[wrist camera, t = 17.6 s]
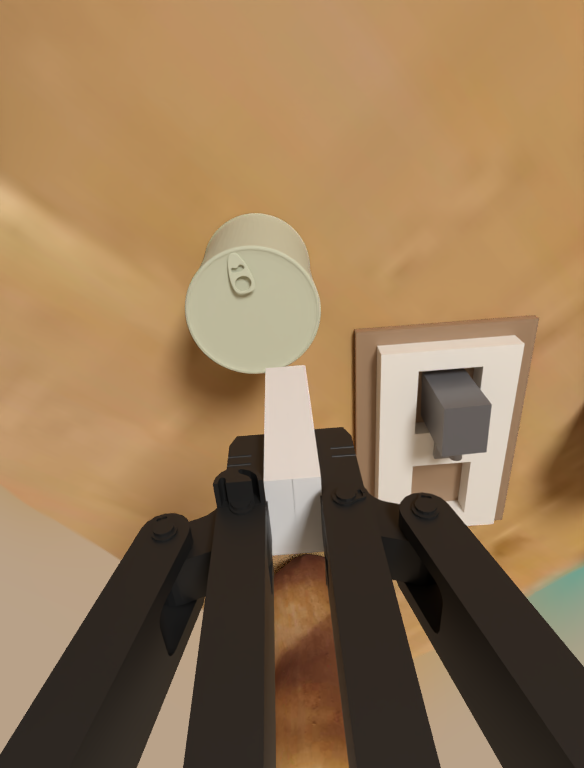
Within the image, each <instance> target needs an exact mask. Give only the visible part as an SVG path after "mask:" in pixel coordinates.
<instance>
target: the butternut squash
mask: <svg viewBox="0 0 584 768" xmlns="http://www.w3.org/2000/svg"><path fill="white" fill-rule="evenodd" d="M274 632H275V718H276V768H349V764H348V755H347V747H346V738H345V730H344V721H343V713H342V705H341V696H340V688H339V679H338V671H337V662H336V654H335V645H334V637H333V629H332V620H331V612H330V603H329V595H328V586H327V585H326V573H325V557H322V556H318V555H312V554H305V555H302V556H299V557H296V558H294V559H293V560H291V561H290V562H289V563H287V564H286V565H285V566H284V567H283V568H281V569H280V570H279V571H278V572H277V573H276V574H275V575H274Z"/></svg>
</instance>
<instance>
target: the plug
mask: <svg viewBox="0 0 584 768" xmlns="http://www.w3.org/2000/svg"><path fill="white" fill-rule="evenodd" d="M491 408H492V404H491V403H490V401H489V400H488V399H487V398H486V396H485V395H484V394H483V392H482V391H481V390H480V388H479V387H478V386H477V384H476V383H475V382H474V381H473V379H472V378H471V377H470V375H469V374H468V373H467V371H466V370H465V369H464V368H458V369H445V370H433V371H424V372H422V391H421V417H422V419H423V421H424V423H425V425H426V427H427V429H428V431H429V433H430V435H431V437H432V439H433V441H434V443H435V444H436V446H437V448H438V450H439V452H440V454H441V456H442V457H445V456H449V458H450V459H451V460H453V461H460V460H461V459H462V455H465V454H474V453H484V452H487V443H488V434H489V425H490V416H491Z"/></svg>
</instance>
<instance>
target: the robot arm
mask: <svg viewBox="0 0 584 768" xmlns="http://www.w3.org/2000/svg"><path fill="white" fill-rule="evenodd" d="M213 487H214V493H215V498H216V504H217V509H216V510H214V511H213V512H212V513H210V514H209V515H207V516H204V517H202V518H199V519H196V520H193V521H190V522H189V521H188V520H187V519H186V518H185V517H184V516H183V515H179V514H175V513H170V514H163V515H160V516H156V517H154V518H153V519H151V520H150V521H148V522H147V523H146V524H145V525H144V526H143V527H142V528H141V530H140V531H139V533H138V535H137V536H136V538H135V539H134V541H133V543H132V544H131V546H130V547H129V549H128V551H127V552H126V554H125V555H124V557H123V559H122V560H121V562H120V564H119V565H118V567H117V568H116V570H115V572H114V573H113V575H112V576H111V578H110V579H109V581H108V583H107V584H106V586H105V588H104V589H103V591H102V592H101V594H100V596H99V597H98V599H97V600H96V602H95V604H94V605H93V607H92V609H91V610H90V612H89V613H88V615H87V616H86V618H85V620H84V621H83V623H82V624H81V626H80V628H79V629H78V631H77V633H76V634H75V636H74V637H73V639H72V640H71V642H70V644H69V645H68V647H67V648H66V650H65V652H64V653H63V655H62V657H61V658H60V660H59V661H58V663H57V664H56V666H55V668H54V669H53V671H52V672H51V674H50V676H49V677H48V679H47V680H46V682H45V684H44V685H43V687H42V688H41V690H40V692H39V693H38V695H37V696H36V698H35V700H34V701H33V703H32V705H31V706H30V708H29V709H28V711H27V712H26V714H25V716H24V717H23V719H22V720H21V722H20V724H19V725H18V727H17V729H16V730H15V732H14V733H13V735H12V736H11V738H10V740H9V741H8V743H7V745H6V746H5V748H4V749H3V751H2V753H1V754H0V768H137V765H138V763H139V761H140V758H141V755H142V753H143V751H144V748H145V746H146V743H147V741H148V738H149V736H150V733H151V731H152V728H153V726H154V724H155V721H156V719H157V716H158V714H159V711H160V709H161V706H162V704H163V701H164V699H165V696H166V694H167V692H168V689H169V687H170V684H171V682H172V679H173V677H174V674H175V672H176V669H177V667H178V665H179V662H180V660H181V657H182V655H183V652H184V650H185V647H186V645H187V642H188V640H189V637H190V635H191V632H192V630H193V628H194V625H195V622H196V620H197V618H198V615H199V613H200V610H201V608H202V605H203V603H204V599H205V605H204V612H203V620H202V628H201V636H200V643H199V651H198V658H197V666H196V674H195V681H194V689H193V696H192V704H191V712H190V719H189V727H188V735H187V742H186V751H185V758H184V765H183V768H276V718H275V632H274V569H273V560H272V555H285V554H298V553H311V552H323V551H324V553H325V573H326V585H327V586H328V595H329V603H330V612H331V620H332V629H333V637H334V645H335V654H336V662H337V671H338V679H339V688H340V696H341V705H342V713H343V721H344V730H345V738H346V747H347V755H348V764H349V768H441V767H440V763H439V759H438V756H437V752H436V748H435V744H434V740H433V736H432V732H431V728H430V725H429V721H428V717H427V713H426V709H425V705H424V702H423V698H422V694H421V690H420V686H419V682H418V678H417V674H416V671H415V667H414V663H413V659H412V655H411V651H410V647H409V644H408V640H407V636H406V632H405V628H404V624H403V620H402V617H401V613H400V609H399V605H398V601H397V597H396V593H395V589H394V586H393V582H392V580H397V583H398V586H399V588H400V589H401V591H402V593H403V595H404V596H405V598H406V600H407V602H408V603H409V605H410V607H411V608H412V610H413V612H414V614H415V615H416V617H417V619H418V621H419V622H420V624H421V626H422V628H423V629H424V631H425V633H426V635H427V636H428V638H429V640H430V642H431V643H432V645H433V647H434V649H435V650H436V652H437V654H438V655H439V657H440V659H441V661H442V662H443V664H444V666H445V668H446V669H447V671H448V673H449V675H450V676H451V678H452V680H453V682H454V683H455V685H456V687H457V689H458V690H459V692H460V694H461V695H462V697H463V699H464V701H465V703H466V704H467V706H468V708H469V709H470V711H471V713H472V715H473V716H474V718H475V720H476V722H477V723H478V725H479V727H480V729H481V730H482V732H483V734H484V736H485V737H486V739H487V741H488V743H489V744H490V746H491V748H492V749H493V751H494V753H495V755H496V756H497V758H498V760H499V762H500V764H501V765H502V767H503V768H584V667H583V665H582V664H581V663H580V662H579V661H578V659H577V658H576V657H575V656H574V654H573V653H572V652H571V651H570V650H569V649H568V647H567V646H566V645H565V644H564V642H563V641H562V640H561V639H560V638H559V636H558V635H557V634H556V633H555V632H554V630H553V629H552V628H551V627H550V626H549V624H548V623H547V622H546V621H545V620H544V618H543V617H542V616H541V615H540V614H539V612H538V611H537V610H536V609H535V608H534V606H533V605H532V604H531V603H530V602H529V601H528V599H527V598H526V597H525V595H524V594H523V593H522V592H521V591H520V589H519V588H518V587H517V586H516V585H515V583H514V582H513V581H512V580H511V579H510V577H509V576H508V575H507V574H506V573H505V571H504V570H503V569H502V568H501V567H500V565H499V564H498V563H497V562H496V561H495V559H494V558H493V557H492V556H491V555H490V553H489V552H488V551H487V550H486V549H485V547H484V546H483V545H482V544H481V543H480V541H479V540H478V539H477V538H476V537H475V535H474V534H473V533H472V532H471V530H470V529H469V528H468V527H467V526H466V524H465V523H464V522H463V521H462V520H461V518H460V517H459V516H458V515H457V514H456V512H455V511H454V510H453V509H452V508H451V506H450V505H449V504H448V503H447V502H446V501H445V500H443V499H442V498H441V497H438V496H436V495H434V494H430V493H423V492H421V493H413V494H410V495H408V496H406V497H405V498H404V499H403V500H402V501H401V502H400V504H397V503H391V502H386V501H382V500H380V499H377V498H375V497H373V496H372V495H371V494H369V492H368V491H367V489H366V488H365V487H364V485H363V481H362V477H361V473H360V469H359V465H358V461H357V457H356V453H355V449H354V445H353V441H352V437H351V435H350V434H349V433H348V432H347V431H346V430H345V429H344V428H343V427H339V428H326V429H314V425H313V418H312V410H311V403H310V396H309V389H308V382H307V375H306V368H305V365H300V366H287V367H274V368H266V373H265V429H264V434H262V435H249V436H237V437H236V438H235V440H234V441H233V442H232V444H231V445H230V446H229V454H228V463H227V470H225V471H223V472H221V473H220V474H219V475H218V476H217V477H216V478H215V480H214V483H213ZM205 596H206V597H205Z"/></svg>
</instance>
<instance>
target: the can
mask: <svg viewBox="0 0 584 768" xmlns="http://www.w3.org/2000/svg"><path fill="white" fill-rule="evenodd" d="M185 315H186V321H187V325H188V328H189V331H190V333H191V335H192V337H193V339H194V341H195V343H196V344H197V345H198V347H199V348H200V349H201V350H202V351H203V353H204V354H206V355H207V356H208V357H209V358H210V359H211V360H213V361H214V362H216V363H217V364H219V365H221V366H223V367H225V368H227V369H230V370H233V371H237V372H240V373H247V374H261V373H266V368H274V367H286V366H288V365H289V364H291V363H293V362H294V361H295V360H297V359H298V358H299V357H300V356H301V355H302V354H303V353H304V352H305V351H306V350H307V349H308V348H309V346H310V345H311V343H312V341H313V339H314V338H315V336H316V333H317V330H318V327H319V323H320V316H321V305H320V299H319V295H318V291H317V288H316V286H315V284H314V282H313V279H312V275H311V271H310V260H309V255H308V251H307V249H306V246H305V244H304V242H303V240H302V239H301V237H300V236H299V234H298V233H297V232H296V231H295V230H294V229H293V228H292V227H291V226H290V225H289V224H287V223H286V222H284V221H282V220H281V219H279V218H276V217H274V216H271V215H267V214H260V213H252V214H245V215H241V216H238V217H235V218H233V219H231V220H229V221H228V222H226V223H225V224H223V225H222V226H221V227H220V228H219V229H218V230H217V231H216V232H215V233H214V235H213V236H212V238H211V239H210V241H209V243H208V246H207V248H206V252H205V256H204V260H203V262H202V264H201V266H200V268H199V270H198V271H197V272H196V274H195V275H194V277H193V279H192V281H191V283H190V285H189V288H188V291H187V295H186V300H185Z"/></svg>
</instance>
